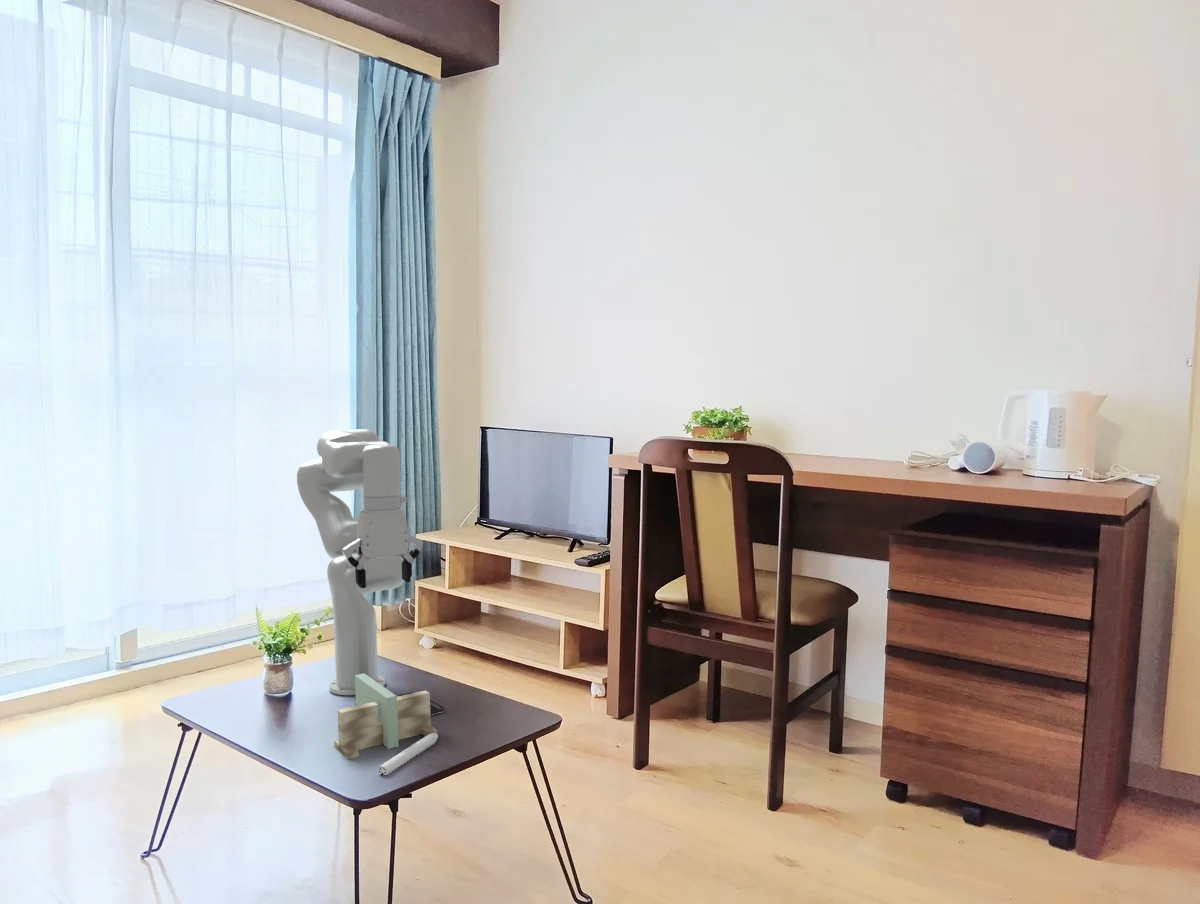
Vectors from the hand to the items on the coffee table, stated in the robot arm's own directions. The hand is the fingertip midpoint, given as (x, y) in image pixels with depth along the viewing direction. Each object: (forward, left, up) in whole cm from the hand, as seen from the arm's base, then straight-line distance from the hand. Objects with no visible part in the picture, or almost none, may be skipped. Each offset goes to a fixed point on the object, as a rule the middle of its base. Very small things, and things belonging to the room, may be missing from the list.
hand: (384, 583), depth 184 cm
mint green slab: (+9, -6, -28) cm, 30 cm away
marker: (+23, -5, -29) cm, 38 cm away
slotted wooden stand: (+14, -6, -28) cm, 32 cm away
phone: (-1, +6, -29) cm, 30 cm away
